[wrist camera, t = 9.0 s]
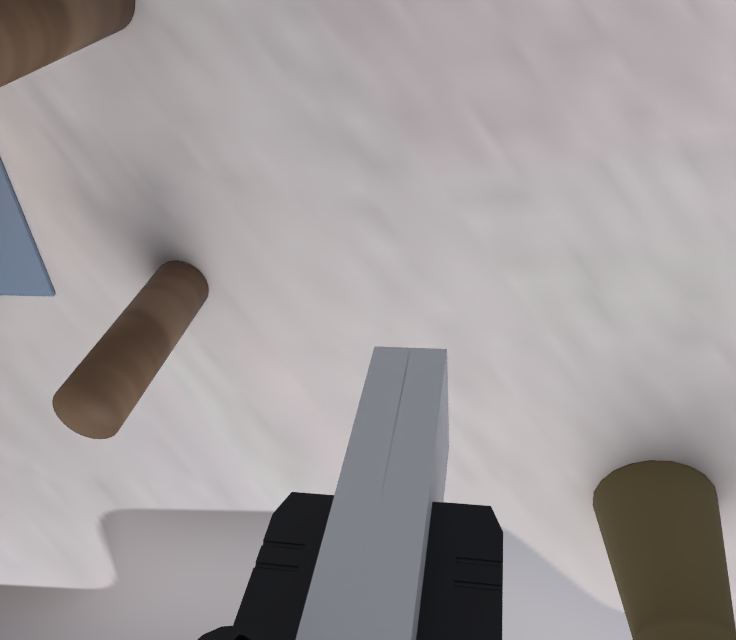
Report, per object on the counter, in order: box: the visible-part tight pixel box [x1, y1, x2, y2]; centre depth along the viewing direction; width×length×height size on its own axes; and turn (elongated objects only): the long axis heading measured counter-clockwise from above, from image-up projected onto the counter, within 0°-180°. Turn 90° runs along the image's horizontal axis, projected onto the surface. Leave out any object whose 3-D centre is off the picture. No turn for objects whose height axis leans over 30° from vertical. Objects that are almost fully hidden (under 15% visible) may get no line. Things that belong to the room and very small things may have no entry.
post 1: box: [0, 0, 135, 87], centre depth 21 cm, size 3×3×9 cm
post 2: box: [53, 261, 209, 439], centre depth 28 cm, size 3×3×9 cm
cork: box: [593, 461, 736, 640], centre depth 30 cm, size 6×6×11 cm
